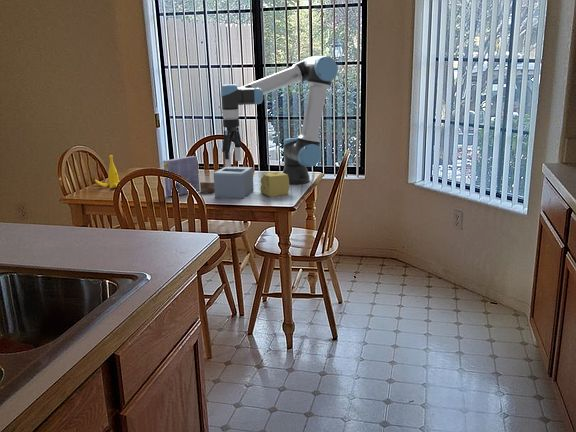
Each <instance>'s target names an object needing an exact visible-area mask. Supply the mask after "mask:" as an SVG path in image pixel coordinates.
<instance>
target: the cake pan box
mask: <svg viewBox="0 0 576 432" xmlns="http://www.w3.org/2000/svg"><path fill="white" fill-rule="evenodd" d="M162 163H163V171H164V170H168V171H171V172H173V173H176V174H179V175H180V176H182V177H184V178H185V179H187V180H188V181H189V182H190V183H191V185H192V186H193V187H194V188H195V189H196V191H195V192H199V191H200V192H201V189H200V181H199V179H200V177H199V162H198V155H192V156H191V155H190V156H185V157H179V158H178V157H177V158H172V159H165V160H163V162H162ZM164 186H165V187H164V188H165V196H166V197H169V198H172V197H171V190H172V180H171V179H168V178H165V177H164ZM176 188H177V190H178V193H179V196H182V195H188V194H189V193H188V191H187V189H186V188H185V187H183V186H182V185H181V184H179V183H177V182H176Z"/></svg>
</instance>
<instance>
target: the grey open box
mask: <svg viewBox="0 0 576 432" xmlns="http://www.w3.org/2000/svg"><path fill="white" fill-rule="evenodd" d="M253 168H254V167H252V166H251V167H249V166H224V167H222V168H220V169H218V170H217V171H214V172H213V181H214V188H215V192H214V198H215V199H235V200H237V199H239V200H243V199H246V198H247V197H248V196H249V195H250V194H252V193H254V191H255V190H254V170H253Z"/></svg>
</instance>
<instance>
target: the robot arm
mask: <svg viewBox="0 0 576 432" xmlns="http://www.w3.org/2000/svg"><path fill="white" fill-rule="evenodd" d="M337 75H338V64H337V63H336V61H335V60H334V59H333V57H331V56H328V55H317V56H315V55H313V56H309V57H307V58H305V59H303V60H300V61H298V62H296V63H294V64H292V66H291V67H289V68H286V69H284V70H281V71H278V72H276V73H273V74H271V75H268V76H266V77H263V78H260V79H258V80H255V81H253V82H251V83H247V84H245V85H243V86H238V85H237V84H235V83H234V84H223V85H221V90H220V91H221V95H220V96H221V103H222V104H221V106H222V107H221V108H222V111H221V114H222V118H223V119H222V126H223V128H226V130H223V140H222V148H221V149H222V150H221V152H222V153H224V167H232V161H231V160H232V159H231V155H232V154H231V151H230V150H231V146H232V142H233V144H234V160H235V161H234V162H242V158H241V157H242V156H241V155H242V153H241V148H243V143H242V139H241V134H240V128H239V127H240V119H239V118H240V112H239V111H240V109H239V106H245V105H247V106H248V105H260V104H262V103H263V101H264V96H265V95H266V94H269V93H271V92H274V91H277V90H279V89H282V88H284V87H287V86H289V85H292V84H295V83H299V84H301V83H303V82H307V83H308V86H309V88H308V94H307V100H306V106H305V110H304V116H303V122H302V126H301V133H300V135H299V136H297V137H291V138H286V139H284V140H283V170H282V173H285V174H288V177H289V185H291V184H292V185H295V184H296V185H297V184H298V185H299V184H306V183H309V182H310V181H311V180H310V179H311V178H310V174H309V171H308V168H312V167H314V166H316V165H318V164H319V162H320V160H321V158H322V150H321V148H320V144H321V140H320V139H319V133H320V128H321V123H322V116H323V111H324V107H325V101H326V97H327V96H326V95H327V91H328V89H329V88H330V87H331V86H332V81H333V80H334V79H335V78H336V77H337Z"/></svg>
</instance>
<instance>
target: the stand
mask: <svg viewBox="0 0 576 432" xmlns="http://www.w3.org/2000/svg"><path fill="white" fill-rule="evenodd" d="M199 189H200V193H211V194H212V193H213V194H215V188H214V180H211V181H208V180H201V181H199Z"/></svg>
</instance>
